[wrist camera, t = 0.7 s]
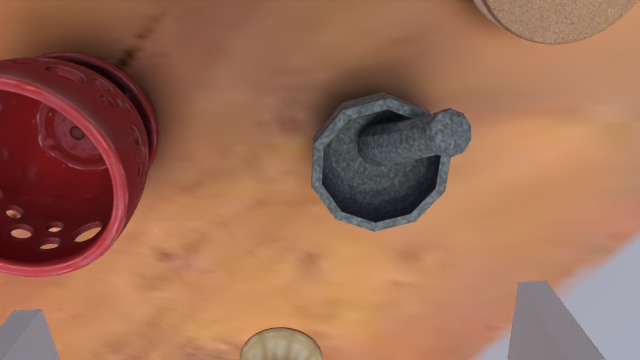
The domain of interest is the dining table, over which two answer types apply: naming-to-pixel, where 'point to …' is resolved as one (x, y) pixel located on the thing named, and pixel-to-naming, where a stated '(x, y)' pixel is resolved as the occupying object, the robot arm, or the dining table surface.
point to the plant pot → (69, 159)
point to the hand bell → (280, 346)
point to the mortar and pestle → (385, 159)
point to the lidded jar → (554, 17)
